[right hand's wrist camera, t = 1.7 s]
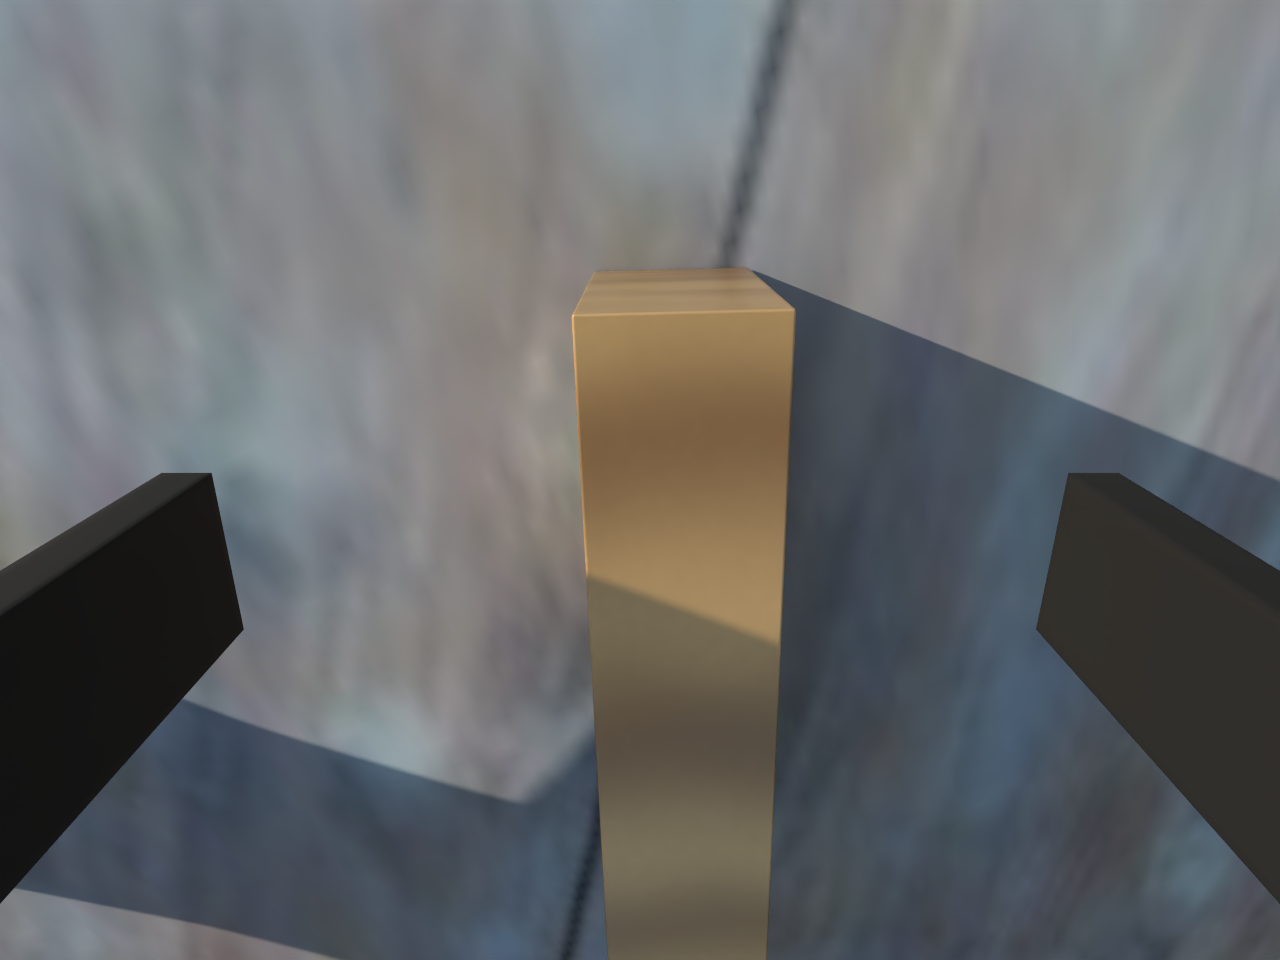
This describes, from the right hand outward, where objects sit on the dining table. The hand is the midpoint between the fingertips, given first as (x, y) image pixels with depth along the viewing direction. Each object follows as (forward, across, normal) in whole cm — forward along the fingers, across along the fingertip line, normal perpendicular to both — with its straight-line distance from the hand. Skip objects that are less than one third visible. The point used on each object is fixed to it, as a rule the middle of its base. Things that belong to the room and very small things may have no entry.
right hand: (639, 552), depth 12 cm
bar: (+14, +1, -8) cm, 17 cm away
